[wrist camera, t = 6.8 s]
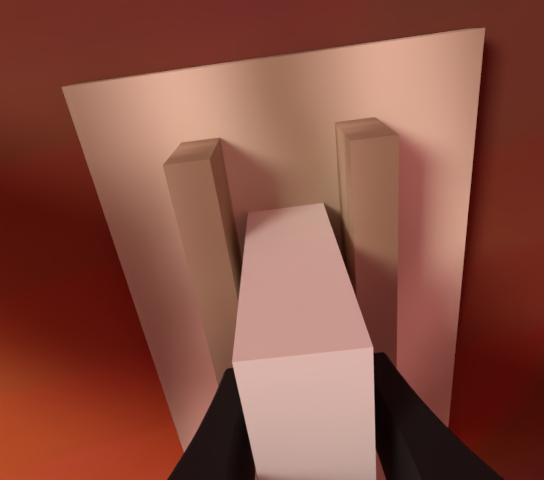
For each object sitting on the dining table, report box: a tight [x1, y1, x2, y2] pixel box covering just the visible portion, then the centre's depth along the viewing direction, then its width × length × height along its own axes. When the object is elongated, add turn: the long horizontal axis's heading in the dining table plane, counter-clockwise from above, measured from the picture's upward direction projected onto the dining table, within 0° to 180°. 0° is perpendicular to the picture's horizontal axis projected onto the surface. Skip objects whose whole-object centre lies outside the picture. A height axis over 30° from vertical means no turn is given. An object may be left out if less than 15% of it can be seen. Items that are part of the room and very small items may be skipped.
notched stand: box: [62, 28, 485, 480], centre depth 15 cm, size 12×18×4 cm, turn 7°
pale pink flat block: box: [232, 203, 376, 480], centre depth 12 cm, size 2×9×7 cm, turn 7°
